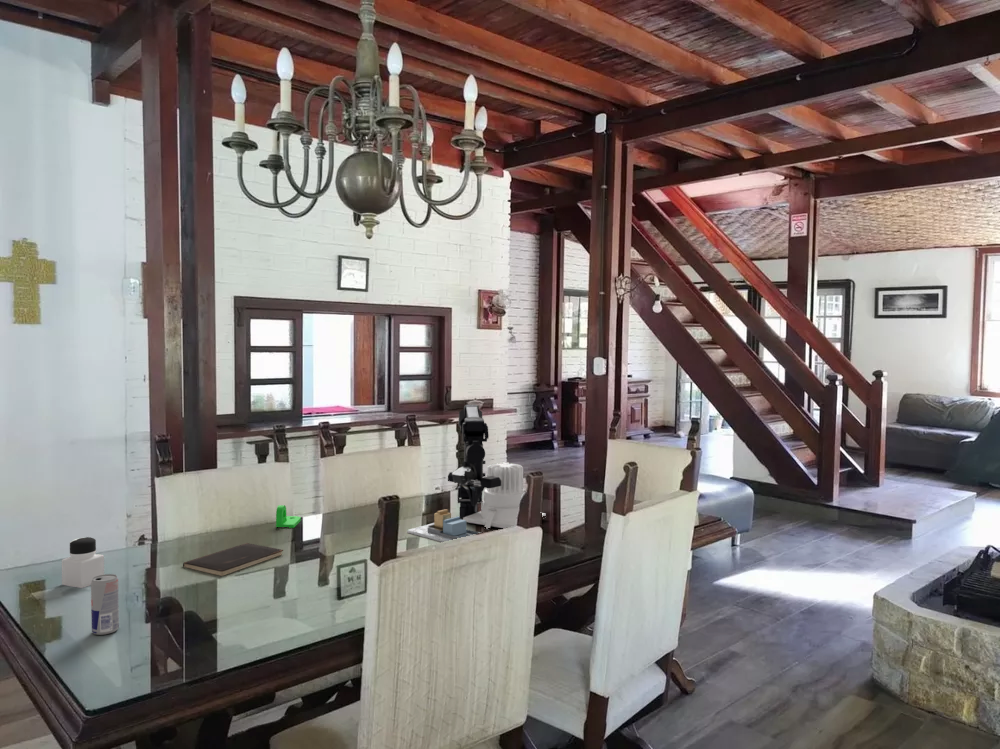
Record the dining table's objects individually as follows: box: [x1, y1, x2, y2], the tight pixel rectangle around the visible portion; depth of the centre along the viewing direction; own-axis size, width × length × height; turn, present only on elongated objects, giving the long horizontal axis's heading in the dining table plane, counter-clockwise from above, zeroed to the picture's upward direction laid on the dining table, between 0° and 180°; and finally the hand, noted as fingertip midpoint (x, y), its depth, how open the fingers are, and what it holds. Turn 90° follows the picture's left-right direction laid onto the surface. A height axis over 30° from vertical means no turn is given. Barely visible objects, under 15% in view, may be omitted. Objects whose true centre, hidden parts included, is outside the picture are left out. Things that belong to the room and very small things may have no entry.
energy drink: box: [90, 573, 120, 636], centre depth 162 cm, size 5×5×12 cm
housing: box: [443, 515, 467, 536], centre depth 242 cm, size 7×4×5 cm, turn 140°
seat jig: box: [406, 522, 481, 543], centre depth 245 cm, size 14×22×3 cm, turn 50°
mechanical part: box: [275, 504, 302, 529], centre depth 256 cm, size 12×6×8 cm, turn 1°
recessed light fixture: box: [462, 461, 547, 529], centre depth 262 cm, size 25×22×21 cm
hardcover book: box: [182, 542, 284, 577], centre depth 214 cm, size 16×23×2 cm
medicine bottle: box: [61, 536, 105, 589], centre depth 193 cm, size 7×7×12 cm
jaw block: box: [433, 508, 452, 530], centre depth 245 cm, size 4×4×7 cm
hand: (473, 505), depth 236 cm, fingers closed
